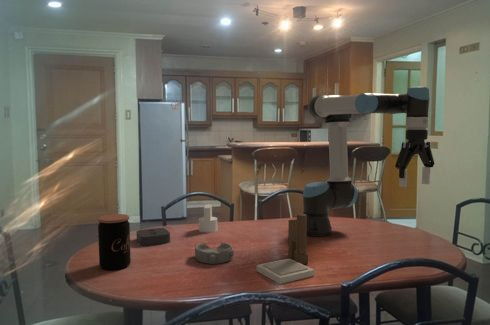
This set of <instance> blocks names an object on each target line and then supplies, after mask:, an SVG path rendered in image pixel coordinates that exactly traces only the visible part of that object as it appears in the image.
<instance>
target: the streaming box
mask: <svg viewBox="0 0 490 325" xmlns="http://www.w3.org/2000/svg"><path fill="white" fill-rule="evenodd" d="M136 241H137V242H138V244H139V246H143V247H150V246H156V245H157V246H158V245H165V244H169V243H171V231H169V230H167V228H164V227H156V228H147V229H138V230H136Z"/></svg>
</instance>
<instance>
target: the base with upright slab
mask: <svg viewBox="0 0 490 325" xmlns="http://www.w3.org/2000/svg"><path fill="white" fill-rule="evenodd" d="M212 206H213V204H205V205H204V207H203V216H202V217H199V218H198V232H200V233H215V232H218V229H219V228H218V217H216V216H213V207H212Z"/></svg>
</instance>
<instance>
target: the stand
mask: <svg viewBox="0 0 490 325" xmlns="http://www.w3.org/2000/svg"><path fill="white" fill-rule="evenodd" d="M256 272H258V273H259V274H262V275H263V276H265V277H266V278H269V279H270V280H272V281H274V282H276V283H277V284H279V285H281V284H286V283H289V282H295V281H297V280H298V281H299V280H302V279H306V278H310V277H314V276H315V269H314V268H311V267H309V266H306V264H300V263H298V262H296V261H294V259H292V258H290V257H289V258H284V259H279V260H275V261H270V262H265V263H264V262H263V263H260V264H257V265H256Z"/></svg>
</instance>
